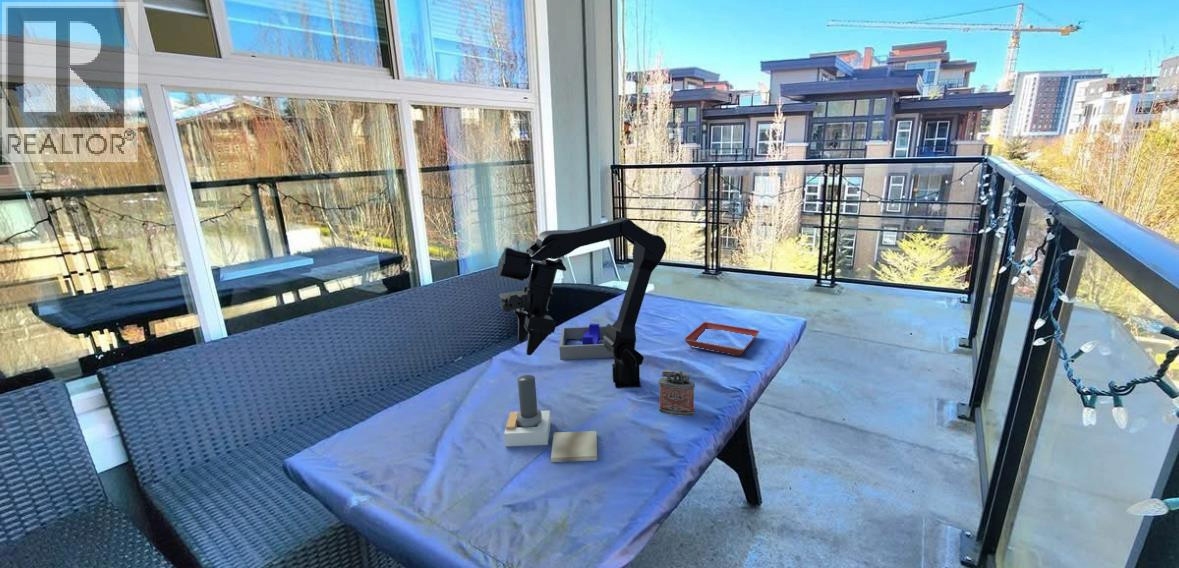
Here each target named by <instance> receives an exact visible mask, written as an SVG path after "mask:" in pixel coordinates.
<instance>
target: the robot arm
mask: <svg viewBox="0 0 1179 568" xmlns="http://www.w3.org/2000/svg"><path fill="white" fill-rule="evenodd" d="M618 238H624V239H625V240H626V241H628V242H629V243H630V244H631V245H633V247H632V269H631V270H632V271H631V274H630V276H629V279H628V284H627V286H626V290H625V293H624V295H623V300H622V302H621V303H622V304H621V306H620V309H619V313H618V317H617V319H616V320H615V322H614V323H612V324H610V323H607V325H606V326H607V327H606V333H605V335H604V336H603V338H602V339H603V344H604V345H605V347H606V349H607V350H608V351H609V352H610V353H611V354H612V356H614V357H613V358H614V359H613V360H614V361H613V362H614V363H612V364H611V367H612V368H611V370H612V372H611V373H612V382H613V383H614V385H615V388H616V389H617V388H618V389H619V388H622V389H623V388H640V387H642V384H641V376H640V373H641V372H640V371H641V370H640V369H641V367H640V365H641V366H642V365H643V362H644V358H645V357H644V355H642V354H641V352H639V351H638V350H637V349H635V348H636V342H637V336H636V335H637V334H636V332H637V331H636V324H637V321H638V317H639V314H640V311H641V309H642V308H641V307H642V304H643V303H644V302H643V301H644V298H645V295H646V291H647V289H648V285H649V281H650V280H651V275H652V273H653V271H654V270H655V269H656V268H657V267H658V265H659V264H660V263H661V261H662V259H663V257H664V256H665V253H666V252H667V243H666V241H665V239H664V238H663V237H662V236H660V235H657V234H653V233H652V232H651V233H650V232H648V231H647V230H646V229H643V228H642V227H640V226H639V225H637V224H636V223H634V221H632V219H631V220H630V219H628V218H624V217H620V218H617V219H615V220H611V221H606V222H602V223H598V224H593V225H589V226H585V227H580V228H576V229H570V230H569V229H554V230H553V229H552V230H545V231H542V232H541V233H539V234H538V236H537V238H536V241H535V242H534V243H532V244H531V245H530V246H529V247H528V248H527V249H526V250H524V251H521V250H518V249H513V248H511V247H507V246H505V247H504V250H503V252H502V253H501V256H500V258H499V259H498V263H497V269H496V277H500V278H503V279H504V278H505V279H510V280H515V281H519V282H523V281H525V280H527V279H528V281H527V284H524V285H523V288H522V290H516V291H509V292H501V293H499V294H498V297H499V304H500V309H501V310H502V312H504V313H506V312H507V313H508V312H511V311H513V313H514V315H515V316H516V317H517V340H518V342H520V343H523V342H524V341H525V339H526V338H527V340H526V341H527V342H526V353H525V354H526V355H527V356H532V355H533V354H534V352H535V351H536V350H537V349H538V348H539V347H540V346H541V344H542V343H543V342H544V340H546V339H547V338H548V336H550V335H552V333H555V330H556V327H557V323H556V322H555V320H554V319H553V318H552V316H550V315H549V312H550V310H549V309H548V306H549V303H550V298H551V299H552V298H553V297H554V293H553V292H552V291H553V286H554V283H555V280H556V275H557V271H563V272H566V271H567V267H566V266H565V264H564V262H563V260H562V259H561V258H562V257H564V256H566V255H568V254H569V255H570V253H572V252H573V251H575V250H577V249H579V248H581V247H586V246H589V245H594V244H598V243H602V242H605V241H609V240H614V239H618Z"/></svg>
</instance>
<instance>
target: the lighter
mask: <svg viewBox="0 0 1179 568" xmlns="http://www.w3.org/2000/svg"><path fill="white" fill-rule="evenodd" d="M658 385H659V406H658V412H660V413H662V414H666V415H672V416H679V417H693V416H694V415H695V407H694V406H695V405H694V404H695V398H694V397H695V387H696V384H695V381H693V380H690V373H689V372H682V370H680V369H678V370H676V371H673V370H668V369H667V370H666V369H663V370H662V371H661V378H659V379H658Z"/></svg>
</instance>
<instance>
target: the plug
mask: <svg viewBox="0 0 1179 568" xmlns="http://www.w3.org/2000/svg"><path fill="white" fill-rule="evenodd" d="M517 386H518V387H517V388H518V397H519V398H518V400H519V411H517V412H518V413H517V422H518V424H519V425H521V426H522V427H537V426H538V424H539V423H540V422H541V421H542V414H541V411H542V410H540V409H539V408H538V402H537V401H538V400H537V398H538V397H537V390H536V389H537V385H536V377H535V376H534V375H532V374H523V375H521V376H519V377H517Z"/></svg>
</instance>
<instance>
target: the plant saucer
mask: <svg viewBox="0 0 1179 568" xmlns="http://www.w3.org/2000/svg"><path fill="white" fill-rule="evenodd" d="M705 329H715V330H724V331H730V332H735V333H741V334H746V335H752V336H754V337H753V338H752V340H751V341H750V342H749V343H748V344H747V345H746V347H745V348H744V349H736V348H731V347H725V346H720V345H714V344H709V343H703V342H697V341H696V340H697V339H698V337H699V336H700V335H701V334H702V333H703V332H704V331H705ZM759 333H760V330H758V329H753V328H752V329H751V328H746V327H738V326H733V325H726V324H719V323H713V322H707V321H705V322H702V323H701V324H700V325H698V327H696V328H695V329H694V330H692V332H690V333H689V334H688V335H686V336H685V337H684V342H686V343H687V345H688V346H689V347H691V346H694V347H699V348H704V349H709V350H714V351H719V352H724V353H730V354H734V355H733V356H735V355H739V356H740V355H742V353H744V351H745V350H746V349H747V348H748V346H749V345H750V344H751V343H752V342H753V341H754V340H755V338H756V337H757V336H758V335H759ZM719 352H718V353H719ZM724 353H723V354H724ZM730 354H729V355H730Z"/></svg>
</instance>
